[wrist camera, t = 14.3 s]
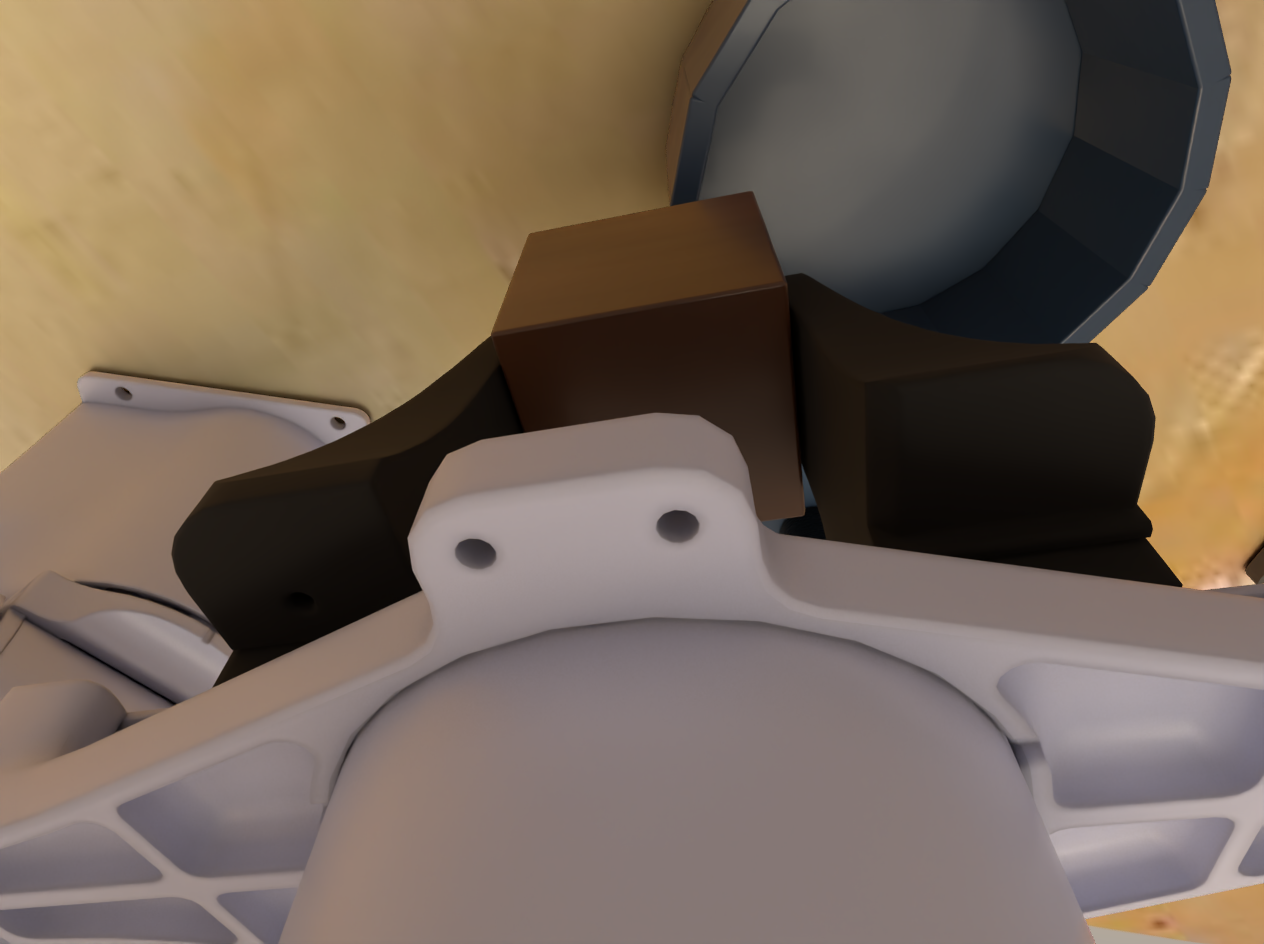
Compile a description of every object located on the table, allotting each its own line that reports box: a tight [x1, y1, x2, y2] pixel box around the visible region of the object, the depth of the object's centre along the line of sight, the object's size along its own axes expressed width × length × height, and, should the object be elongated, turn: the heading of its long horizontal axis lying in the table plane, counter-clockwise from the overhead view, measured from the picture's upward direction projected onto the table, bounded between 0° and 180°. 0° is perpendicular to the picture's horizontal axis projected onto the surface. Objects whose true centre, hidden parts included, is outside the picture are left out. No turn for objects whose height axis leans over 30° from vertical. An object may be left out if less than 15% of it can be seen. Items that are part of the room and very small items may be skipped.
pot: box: [666, 0, 1231, 344], centre depth 18 cm, size 11×11×5 cm
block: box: [491, 191, 805, 522], centre depth 13 cm, size 4×4×4 cm
